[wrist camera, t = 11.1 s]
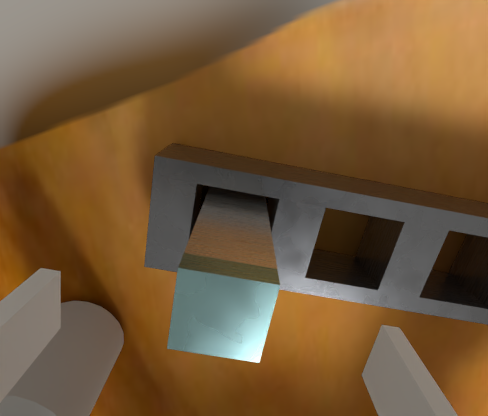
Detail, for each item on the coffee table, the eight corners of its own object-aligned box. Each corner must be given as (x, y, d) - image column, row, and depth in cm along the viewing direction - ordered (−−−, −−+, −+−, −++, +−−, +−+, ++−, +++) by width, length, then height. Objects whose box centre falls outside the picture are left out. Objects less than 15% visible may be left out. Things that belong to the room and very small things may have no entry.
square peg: (253, 230, 27) (259, 362, 14) (206, 221, 27) (167, 348, 14) (263, 185, 26) (279, 285, 12) (213, 176, 25) (178, 267, 12)
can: (140, 318, 30) (77, 453, 19) (108, 369, 32) (33, 517, 21) (66, 281, 29) (-50, 403, 18) (37, 336, 31) (-83, 477, 20)
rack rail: (472, 290, 29) (516, 329, 24) (162, 236, 27) (144, 266, 23) (514, 208, 26) (573, 234, 21) (172, 143, 24) (154, 155, 20)
